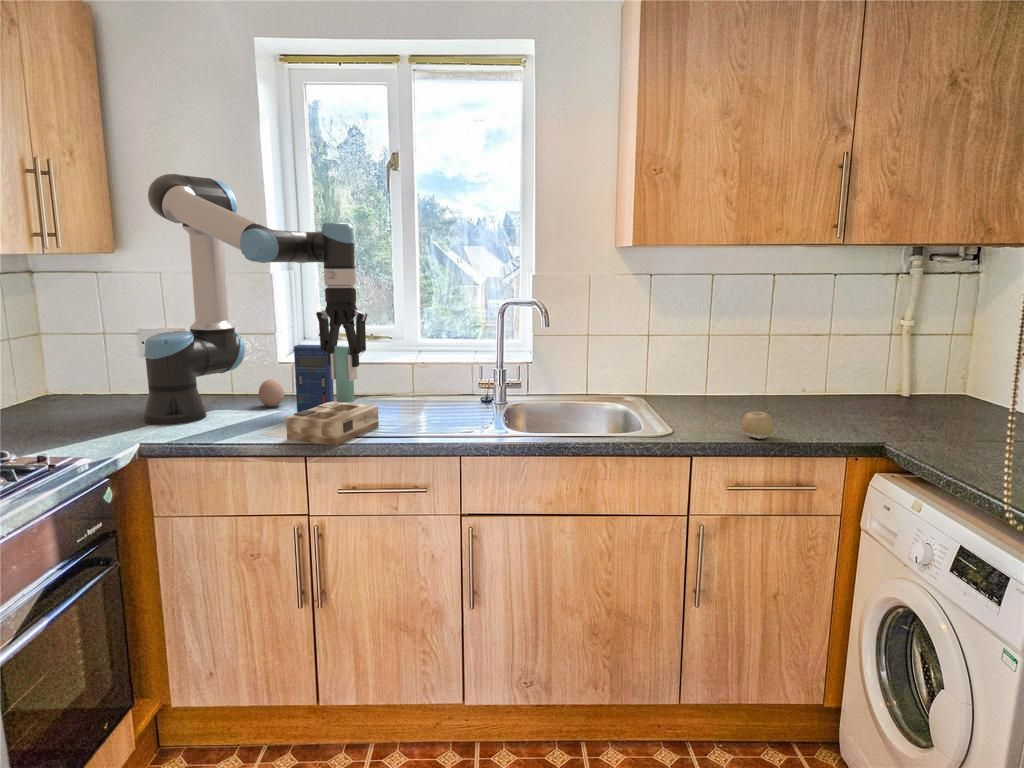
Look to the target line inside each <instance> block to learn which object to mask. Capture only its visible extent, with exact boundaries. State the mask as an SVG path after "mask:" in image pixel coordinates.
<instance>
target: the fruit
mask: <svg viewBox="0 0 1024 768" xmlns="http://www.w3.org/2000/svg"><path fill="white" fill-rule="evenodd" d="M741 427H742V430H743V432H744V431H745V432H747V433H750V434H755V435H770V434H772V433H773V430H774V421H773V418H772V417H771V415H770V414H768V412H767V413H766V412H765V411H763V407H762V408H760V410H759V411H750V412H747V413H746V414H745V415H744V416H743V417H742V420H741ZM745 432H744V433H745ZM770 436H771V435H770Z"/></svg>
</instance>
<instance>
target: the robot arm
mask: <svg viewBox="0 0 1024 768" xmlns="http://www.w3.org/2000/svg"><path fill="white" fill-rule="evenodd" d="M147 198H148V203H149V206H150V207H151V208H152V210H153V211H154V212H155V213H156V214H157V215H158V216H159V217H161V218H164V219H165V220H168V221H170V222H172V223H174V224H182V229H183V230H184V231H185V232H186V233H187V234H188V235H189V236H188V237H189V249H190V250H189V251H190V261H191V277H192V293H193V305H194V320H195V321H194V322H193V324H191V325H190V327H189V330H174V331H166V332H161V333H157V334H154V335H151V336H149V337H147V339H146V340H145V341H144V352H143V353H144V358H145V365H146V375H147V376H146V378H147V387H148V394H147V400H146V403H145V404H146V405H145V409H144V410H143V414H142V415H143V421H144V423H145V424H148V425H153V426H155V425H156V426H172V425H182V424H183V425H184V424H187V423H193V422H198V421H201V420H203V419H205V418H206V417H207V410H206V406H205V405H204V403H203V401H202V398H201V395H200V393H199V391H198V384H197V378H198V377H204V376H209V375H215V374H225V373H226V372H229V371H234V370H235V369H237V368H238V367H239V366H241V364H242V363H243V360H244V358H245V353H246V345H245V340H243V339H242V336H241V334H239V333H238V332H236V330H235V329H236V327H235V325H234V324H233V323H232V322H230V320H229V307H228V306H229V305H228V291H227V289H228V288H227V275H226V272H227V271H226V258H225V256H226V255H225V244H227V245H229V246H232V247H234V248H236V249H238V250H239V251H241V254H242V255H243V256H244V258H245V259H246V260H248V261H250V262H256V263H261V264H266V263H297V264H304V263H323V273H324V274H323V276H324V277H323V278H324V285H325V286H326V287H325V289H324V297H325V298H324V300H325V302H326V307H325V309H324V310H321V311H317V312H316V315H315V316H316V317H317V321H318V329H319V345H320V347H321V350H322V351H326V352H327V353H328V364H329V366H331V376H332V379H333V380H336V376H335V354H334V346H338V342H339V341H338V340H339V334H340V330H341V329H340V327H343V329H344V331H345V336H346V339H347V345H348V346H349V349H350V353H349V355H348V373H349V381H352V380H353V381H356V380H358V367H359V366H360V354H361V353H363V352H366V350H367V341H366V339H367V336H366V333H367V332H366V322H367V319H368V318H367V317H368V314H367V312H361V311H359V310H358V307H357V288H355V287H354V286H356V285H357V282H356V281H357V280H356V266H355V241H356V240H355V236H354V227H353V226H352V224H350V223H347V222H324V223H322V225H321V231H295V230H279V229H278V230H277V229H271V228H268V227H267V226H264V225H262V224H260V223H258V222H255V220H252V219H249V218H247V217H245V216H243V215H240V214H238V203H237V199H236V196H235V194H234V192H233V190H232V189H231V188H230V187H229V186H228V184H226V183H225V182H223V181H221V180H218V179H212V178H209V177H199V176H192V175H184V174H179V173H167V174H162V175H160V176H158V177H157V178H155V179H154V180H153V181H152V182H151V183H150V185H149V187H148V191H147ZM355 320H356V321H355Z"/></svg>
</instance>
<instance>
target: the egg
mask: <svg viewBox="0 0 1024 768" xmlns="http://www.w3.org/2000/svg"><path fill="white" fill-rule="evenodd" d="M284 398H285V390H284V387H283V386H282V384H281V383H280V382H279V381H278V380H276V379H274V378H269V379H266V380H265V381H263V382H262V383H261V384H260V386H259V389H258V400H259V401H260V402H261V404H263V405H264V406H266V407H269V408H273V407H277V406H279V405H280V404H281V403H282V402H283V400H284Z"/></svg>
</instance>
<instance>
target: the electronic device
mask: <svg viewBox="0 0 1024 768" xmlns="http://www.w3.org/2000/svg"><path fill="white" fill-rule="evenodd" d="M293 353H294V354H293V356H294V357H293V358H294V376H295V393H296V394H295V396H296V399H295V400H296V413H298V412H301V411H304V410H309V409H312V408H315V407H317V406H319V405H322V404H325V403H329V402H335V397H334V379H332V376H331V366H329V364H328V353H327V352H326V351H322V350H321V347H320V344H297V345H294V346H293Z"/></svg>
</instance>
